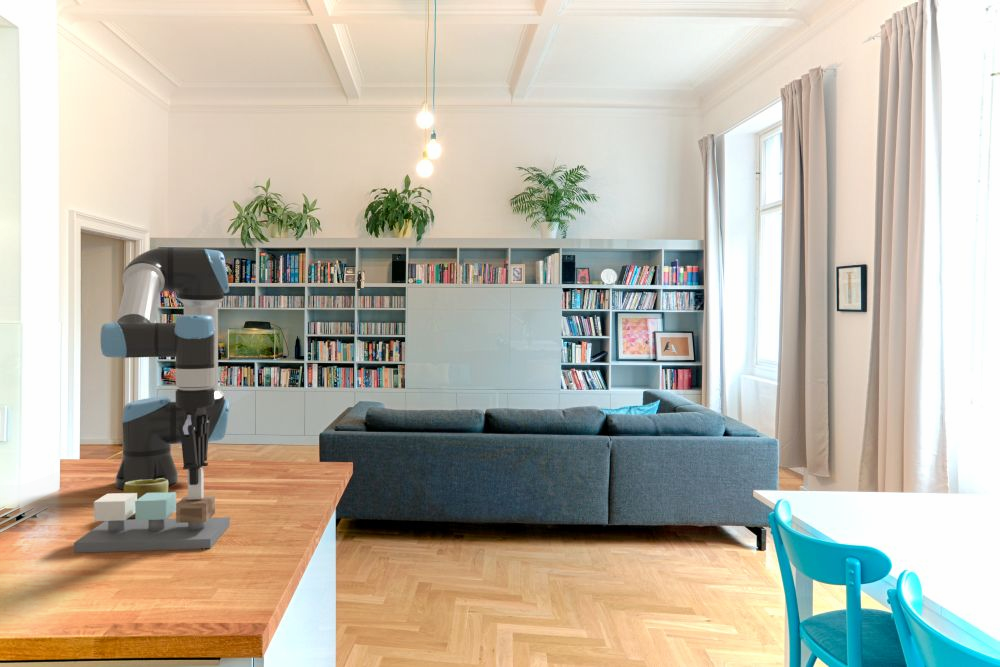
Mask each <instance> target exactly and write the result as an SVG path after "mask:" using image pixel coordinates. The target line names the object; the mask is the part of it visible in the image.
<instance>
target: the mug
mask: <svg viewBox="0 0 1000 667" xmlns="http://www.w3.org/2000/svg"><path fill="white" fill-rule="evenodd" d="M163 492H169V485H168V480H167V479H164V478H159V479H156V480H152V479H148V480H135V481H129V482H126V483H125V485H124V490H123V493H137V499H139V498H140V497H142V496H143V495H145V494H146V493H163ZM128 519H129V520H131V519H135V513H134V514H133V515H132V516H130V517H129V518H128Z"/></svg>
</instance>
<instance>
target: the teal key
mask: <svg viewBox="0 0 1000 667" xmlns="http://www.w3.org/2000/svg"><path fill="white" fill-rule="evenodd" d="M176 503H177V491H173V492H171V491H170V492H169V491H168V492H163V493H146V494H145V495H143V496H142V497H140V498H139V499H137V500H136V501H135V520H162V519H169V517H170V516H172V515H173V514H174V513H176Z"/></svg>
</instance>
